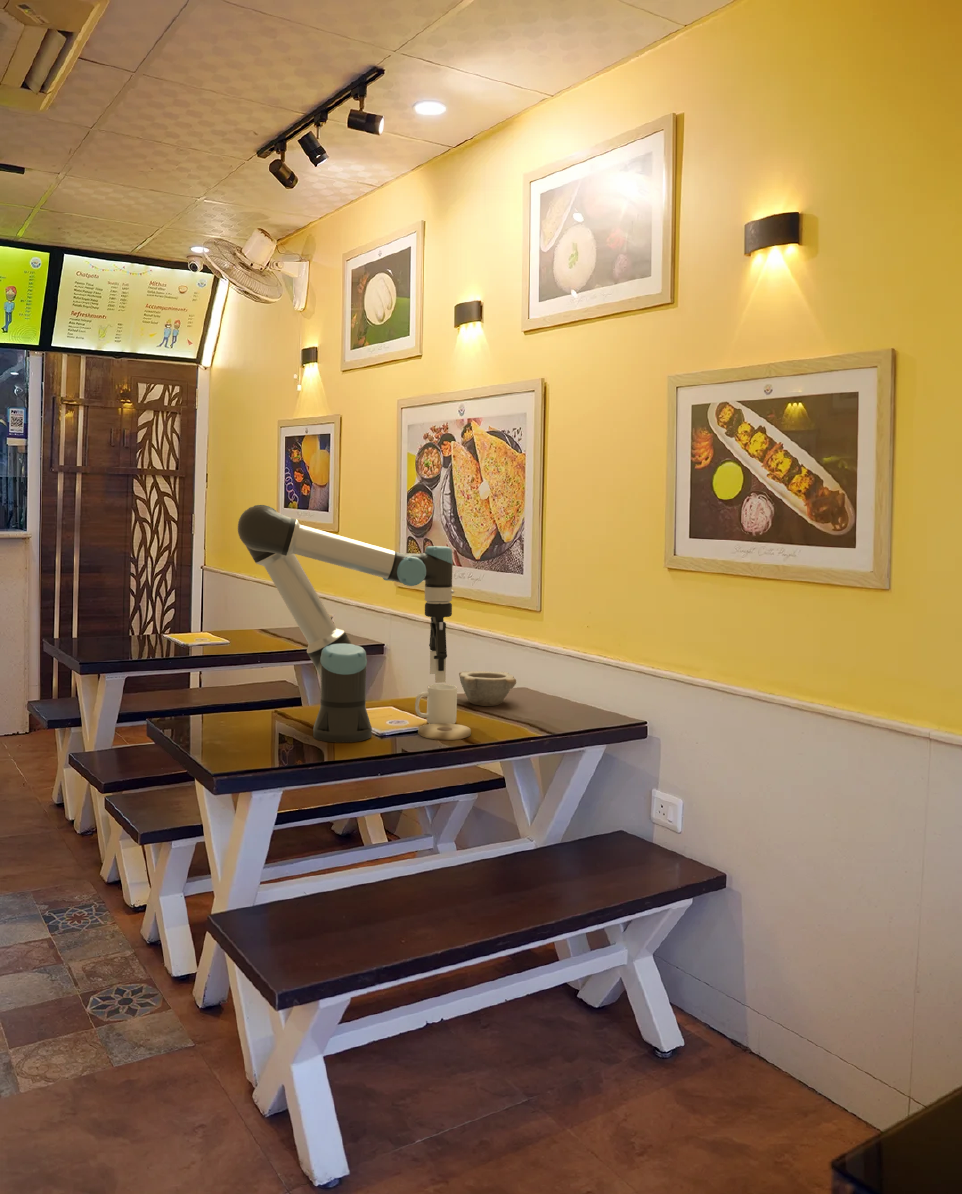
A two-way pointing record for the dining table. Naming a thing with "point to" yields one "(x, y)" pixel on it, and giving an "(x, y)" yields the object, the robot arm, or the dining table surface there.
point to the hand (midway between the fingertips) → (437, 678)
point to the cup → (439, 704)
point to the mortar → (486, 686)
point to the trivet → (444, 731)
